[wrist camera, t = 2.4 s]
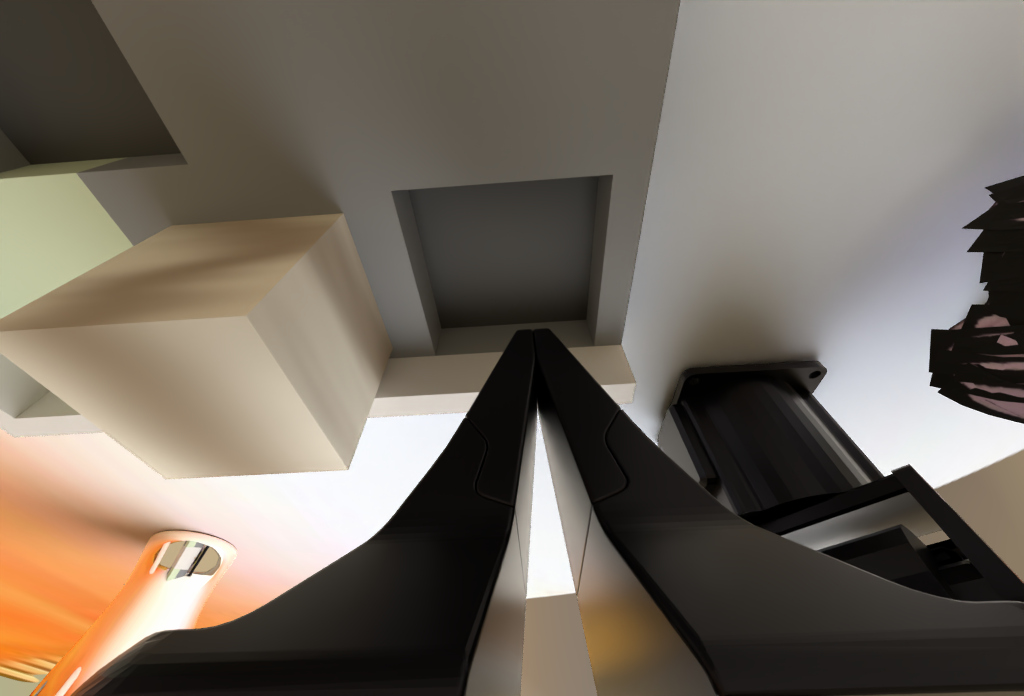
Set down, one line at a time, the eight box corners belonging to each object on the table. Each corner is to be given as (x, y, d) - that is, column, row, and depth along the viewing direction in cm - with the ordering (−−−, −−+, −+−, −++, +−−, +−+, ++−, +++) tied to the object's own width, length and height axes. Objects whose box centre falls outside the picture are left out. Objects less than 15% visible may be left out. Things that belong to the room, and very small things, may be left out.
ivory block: (343, 213, 10) (246, 315, 6) (392, 348, 13) (348, 470, 10) (171, 225, 10) (-26, 332, 6) (261, 356, 14) (165, 479, 10)
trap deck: (722, -526, 5) (1022, -1310, 2) (606, 333, 16) (631, 403, 13) (-665, -349, 6) (-1906, -766, 3) (106, 363, 16) (14, 437, 13)
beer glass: (220, 527, 27) (11, 883, 16) (258, 562, 32) (117, 858, 20) (123, 526, 27) (-163, 889, 15) (175, 562, 31) (-16, 863, 20)
